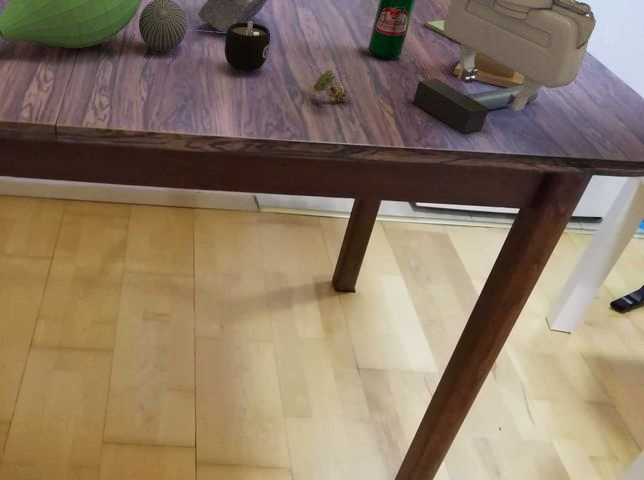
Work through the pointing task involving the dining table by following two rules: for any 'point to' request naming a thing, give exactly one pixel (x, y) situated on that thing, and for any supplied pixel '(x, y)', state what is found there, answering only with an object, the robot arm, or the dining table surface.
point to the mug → (247, 46)
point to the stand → (494, 72)
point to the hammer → (462, 103)
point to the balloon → (66, 21)
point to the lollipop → (163, 25)
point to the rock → (229, 12)
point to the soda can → (390, 28)
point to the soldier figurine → (324, 83)
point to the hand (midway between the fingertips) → (489, 94)
